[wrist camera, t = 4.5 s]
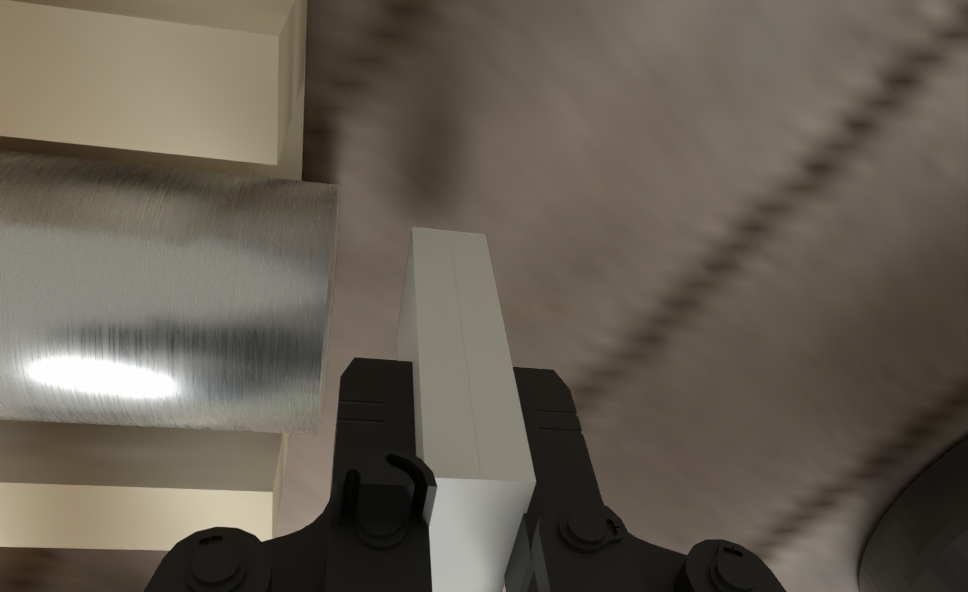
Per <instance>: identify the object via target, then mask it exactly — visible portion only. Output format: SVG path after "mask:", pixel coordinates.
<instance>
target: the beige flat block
mask: <svg viewBox="0 0 968 592" xmlns="http://www.w3.org/2000/svg"><path fill="white" fill-rule="evenodd" d="M307 3H308V0H0V150H6V151H16V152H25V153H35V154H45V155H55V156H64V157H74V158H84V159H93V160H103V161H113V162H122V163H132V164H142V165H152V166H161V167H171V168H181V169H190V170H200V171H210V172H219V173H229V174H239V175H249V176H258V177H268V178H278V179H287V180H297V181H302V155H303V124H304V94H305V64H306V33H307ZM290 436H291V433H270V432H249V431H228V430H207V429H187V428H166V427H145V426H124V425H103V424H83V423H62V422H41V421H20V420H0V547H33V548H79V549H124V550H169V551H170V550H171V549H172V548H173V547H174V545H175V544H176V543H177V542H179V541H181V540H182V539H184V538H186V537H188V536H189V535H191V534H193V533H194V532H197V531H201V530H205V529H209V528H213V527H232V528H239V529H242V530H244V531H246V532H249V533H251V534H253V535H255V536H256V537H257V538H258V539H259V540H260V541H261V542H262V541H266V540H270V539H274V536H275V530H276V524H277V518H278V511H279V505H280V499H281V493H282V486H283V480H284V474H285V467H286V461H287V455H288V449H289V442H290Z"/></svg>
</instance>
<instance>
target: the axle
mask: <svg viewBox="0 0 968 592" xmlns="http://www.w3.org/2000/svg"><path fill="white" fill-rule="evenodd" d="M339 210H340V185H336V184H326V183H316V182H307V181H297V180H287V179H278V178H268V177H258V176H249V175H239V174H229V173H219V172H210V171H200V170H190V169H181V168H171V167H161V166H152V165H142V164H132V163H122V162H113V161H103V160H93V159H84V158H74V157H64V156H55V155H45V154H35V153H25V152H16V151H6V150H0V420H20V421H41V422H62V423H83V424H103V425H124V426H145V427H166V428H187V429H207V430H228V431H249V432H270V433H291V434H311V435H319V433H320V428H321V422H322V414H323V406H324V397H325V388H326V379H327V368H328V358H329V347H330V336H331V325H332V313H333V301H334V288H335V275H336V261H337V246H338V229H339Z"/></svg>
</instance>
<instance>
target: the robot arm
mask: <svg viewBox="0 0 968 592" xmlns="http://www.w3.org/2000/svg"><path fill="white" fill-rule="evenodd" d="M581 431H582V429H581V426H580V422H579V419H578V416H576V408H575V405H574V402H573V398H572V395H571V391H570V389H569V388H568V387H567V386H566V384H565V383H564V382H563V381H562V380H561V378H560V377H559V376H558V375H557V374H556V372H555V371H554V370H549V369H535V368H521V367H513V366H512V361H511V357H510V352H509V347H508V342H507V337H506V332H505V327H504V322H503V318H502V313H501V308H500V303H499V298H498V293H497V288H496V283H495V279H494V274H493V269H492V264H491V259H490V254H489V249H488V245H487V240H486V235H485V234H478V233H469V232H459V231H449V230H440V229H430V228H420V227H412V232H411V239H410V246H409V253H408V260H407V267H406V274H405V281H404V289H403V296H402V303H401V310H400V317H399V324H398V331H397V361H396V360H382V359H368V358H354V359H353V360H352V362H351V363H350V365H349V366H348V367H347V369H346V370H345V371H344V373H343V374H342V376H341V379H340V389H339V400H338V411H337V421H336V432H335V443H334V456H333V468H332V481H331V493H330V500H329V503H328V504H327V506H326V508H325V509H324V511H323V513H322V514H321V515H320V516H319V517H318V518H317V519H316V520H315V521H314V522H313V523H311V524H309V525H308V526H306V527H305V528H303V529H301V530H299V531H297V532H294V533H291V534H288V535H286V536H282V537H278V538H274V539H270V540H266V541H262V542H261V541H260V540H259V539H258V538H257V537H256V536H255V535H253V534H251V533H249V532H246V531H244V530H242V529H239V528H232V527H213V528H209V529H205V530H201V531H197V532H194V533H193V534H191V535H189V536H188V537H186V538H184V539H182V540H181V541H179V542H177V543H176V544H175V545H174V547H173V548H172V549H171V550H170V551H169V552H168V553H167V555H166V556H165V557H164V558H163V559H162V561H161V563H160V565H159V566H158V568H157V570H156V571H155V573H154V575H153V577H152V578H151V580H150V582H149V583H148V585H147V587H146V588H145V590H144V592H502V590H503V587H504V584H505V587H506V592H786V590H785V589H784V588H783V586H782V585H781V584H780V582H779V581H778V579H777V578H776V577H775V575H774V574H773V573H772V571H771V570H770V569H769V568H768V567H767V566H766V565H765V564H764V562H763V561H762V560H761V559H760V558H759V557H758V556H757V555H755V554H754V553H752V552H750V551H749V550H747V549H746V548H744V547H743V546H741V545H738V544H735V543H732V542H729V541H726V540H704V541H702V542H700V543H698V544H696V545H694V546H693V547H692V549H691V550H690V552H689V554H688V555H684V554H681V553H678V552H675V551H672V550H669V549H665V548H662V547H659V546H656V545H653V544H650V543H648V542H645V541H643V540H641V539H638V538H636V537H635V536H633V535H632V534H630V533H628V531H627V529H626V527H625V526H624V524H623V522H622V520H621V519H620V518H619V517H618V516H617V515H616V514H615V513H614V512H613V511H612V510H611V509H610V508H609V507H607V506H605V505H604V503H603V501H602V498H601V495H600V491H599V488H598V484H597V481H596V477H595V474H594V471H593V467H592V464H591V460H590V457H589V453H588V450H587V446H586V443H585V440H584V436H583V434H581ZM859 587H860V592H968V439H967V440H965V441H963V442H962V443H961V444H959V445H958V446H956V447H955V448H954V449H952V450H951V451H950V452H948V453H947V454H946V455H944V456H943V457H942V458H941V459H939V460H938V461H937V462H935V463H934V464H933V465H932V466H931V467H930V468H928V469H927V470H926V471H925V472H924V473H923V474H922V475H920V476H919V477H918V478H917V479H916V480H915V481H914V482H913V483H912V484H911V485H910V486H909V487H908V488H907V489H906V490H905V491H904V492H903V493H902V495H901V496H900V497H899V498H898V499H897V500H896V501H895V503H894V504H893V505H892V506H891V507H890V509H889V510H888V511H887V513H886V514H885V515H884V517H883V518H882V520H881V521H880V523H879V524H878V526H877V527H876V529H875V531H874V532H873V534H872V536H871V538H870V540H869V542H868V545H867V547H866V550H865V552H864V555H863V558H862V562H861V567H860V573H859Z"/></svg>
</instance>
